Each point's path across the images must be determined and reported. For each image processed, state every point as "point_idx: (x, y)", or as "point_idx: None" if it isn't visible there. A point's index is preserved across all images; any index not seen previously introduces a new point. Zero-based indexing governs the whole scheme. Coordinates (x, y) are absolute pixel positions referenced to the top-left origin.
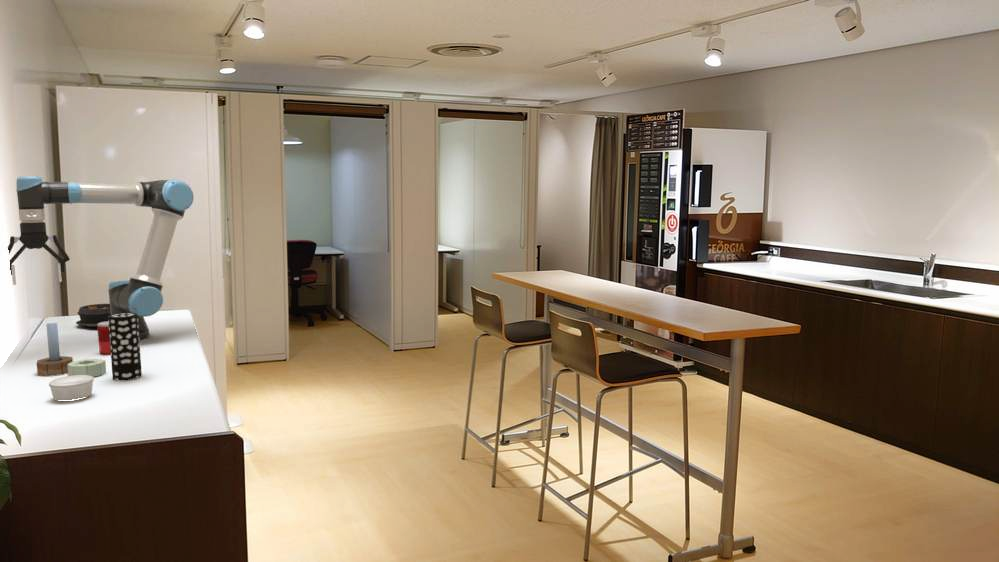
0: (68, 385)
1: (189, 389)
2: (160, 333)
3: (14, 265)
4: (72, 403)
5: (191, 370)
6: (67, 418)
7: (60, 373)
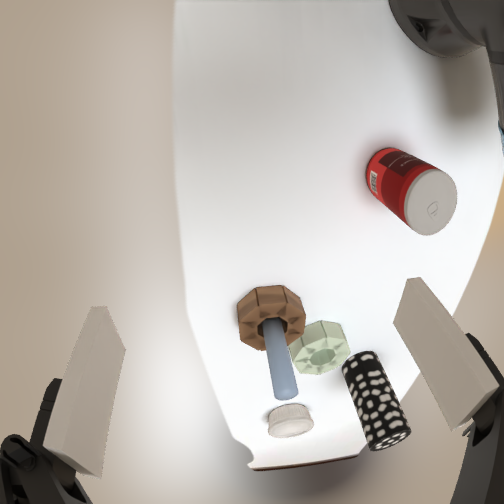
0: (287, 437)
1: None
2: None
3: (63, 446)
4: None
5: None
6: (280, 443)
7: None
